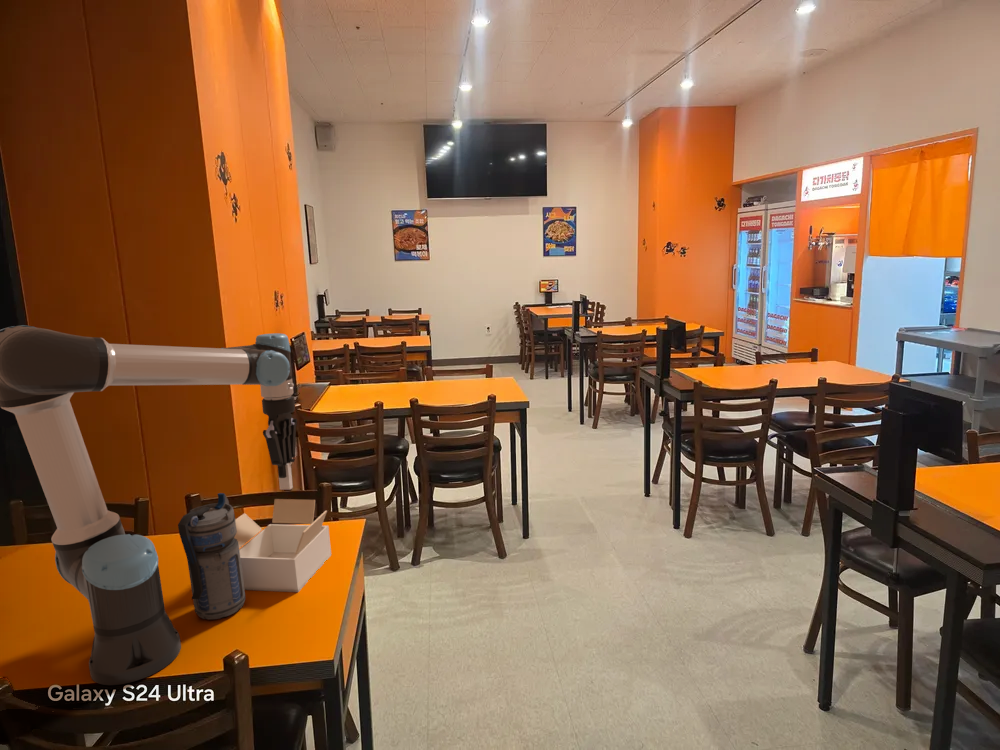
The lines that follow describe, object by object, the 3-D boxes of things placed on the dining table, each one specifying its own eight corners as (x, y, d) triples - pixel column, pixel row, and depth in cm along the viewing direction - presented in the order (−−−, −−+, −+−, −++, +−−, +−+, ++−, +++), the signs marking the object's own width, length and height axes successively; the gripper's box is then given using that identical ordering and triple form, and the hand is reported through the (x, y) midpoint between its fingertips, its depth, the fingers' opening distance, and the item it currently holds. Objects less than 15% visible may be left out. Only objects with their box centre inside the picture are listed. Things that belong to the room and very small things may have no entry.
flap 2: (294, 553, 141) (296, 554, 141) (302, 531, 139) (304, 532, 139) (318, 530, 152) (319, 531, 152) (325, 510, 151) (327, 511, 151)
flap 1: (314, 499, 158) (315, 499, 159) (274, 499, 160) (275, 499, 160) (312, 523, 157) (313, 523, 157) (272, 522, 159) (272, 522, 159)
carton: (298, 592, 141) (292, 539, 138) (217, 588, 144) (210, 536, 142) (331, 555, 158) (326, 507, 156) (259, 552, 162) (253, 505, 159)
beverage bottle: (176, 626, 129) (158, 513, 125) (220, 593, 142) (206, 490, 137) (216, 632, 127) (200, 517, 122) (258, 597, 139) (244, 492, 135)
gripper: (278, 402, 145) (287, 498, 149) (304, 391, 157) (311, 480, 161) (249, 402, 146) (258, 497, 150) (277, 391, 159) (285, 479, 163)
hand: (286, 488), depth 156 cm, fingers closed
